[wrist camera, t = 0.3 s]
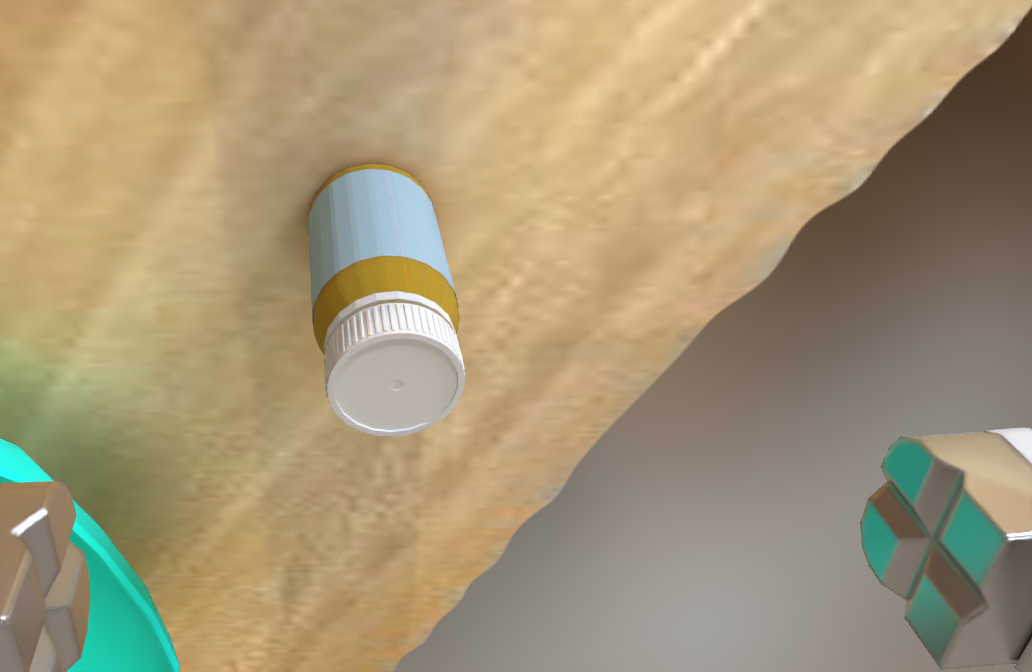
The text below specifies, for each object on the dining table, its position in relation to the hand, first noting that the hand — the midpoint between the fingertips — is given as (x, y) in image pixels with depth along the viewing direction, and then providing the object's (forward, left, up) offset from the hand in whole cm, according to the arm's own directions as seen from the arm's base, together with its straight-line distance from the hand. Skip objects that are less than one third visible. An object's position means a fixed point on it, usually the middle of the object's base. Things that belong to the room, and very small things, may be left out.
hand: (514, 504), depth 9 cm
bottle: (+20, +1, -39) cm, 44 cm away
